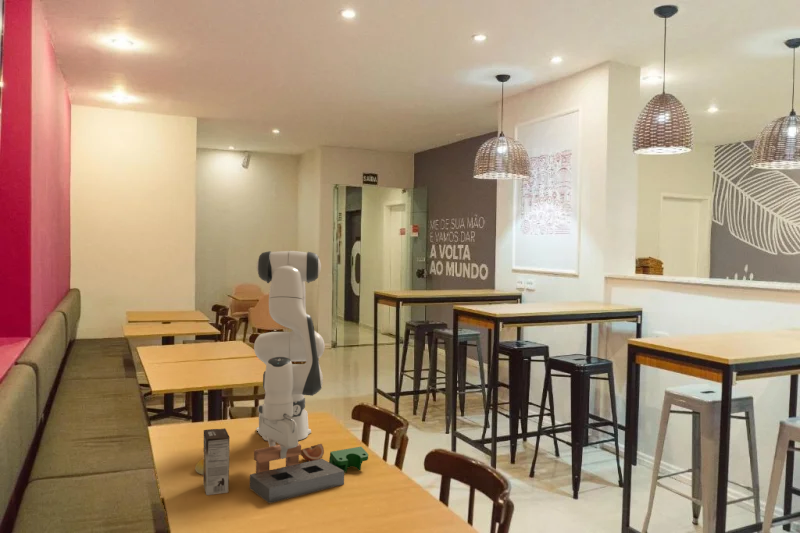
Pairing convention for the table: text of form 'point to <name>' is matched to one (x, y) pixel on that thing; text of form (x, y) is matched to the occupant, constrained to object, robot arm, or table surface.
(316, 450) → the fruit slice
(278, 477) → the cinder block
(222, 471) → the coffee box
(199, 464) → the bread roll
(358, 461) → the clamp
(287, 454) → the wooden bridge block
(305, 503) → the table surface
